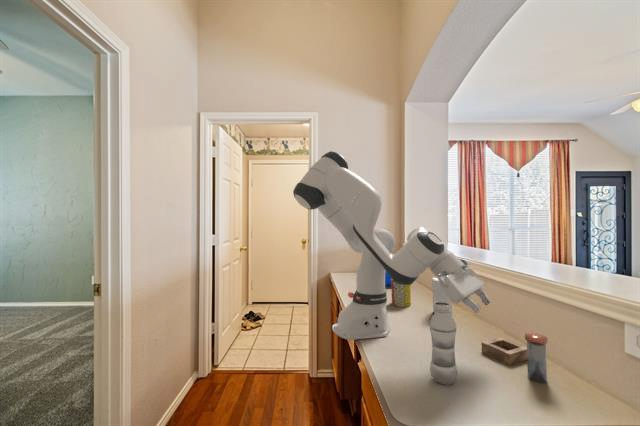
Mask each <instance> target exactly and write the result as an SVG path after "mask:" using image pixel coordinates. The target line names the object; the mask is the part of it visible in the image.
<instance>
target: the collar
mask: <svg viewBox="0 0 640 426" xmlns="http://www.w3.org/2000/svg"><path fill="white" fill-rule="evenodd" d="M481 352H482V353H484V354H486V355H488V356H491V357H493V358H494V359H497V360H498V361H501V362H503V363H505V364H507V365H509V366H510V365H513V364H517V363H521V362H523V361H527V346H525V345H522V344H519V343H518V342H514V341H512V340H509V339H507V338H504V337H502V336H501V337H497V338H492V339H488V340H484V341H481Z"/></svg>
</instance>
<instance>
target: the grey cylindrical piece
mask: <svg viewBox="0 0 640 426" xmlns="http://www.w3.org/2000/svg"><path fill="white" fill-rule="evenodd" d="M524 339H525V341H526V347H527V360H526V361H527V362H526V363H527V378H528V379H529V380H531V381H533V382H536V383H539V384H545V383H547V381H548V375H547V347H546V345H547V344H548V339H549V338H548V337H547V336H546V335H544V334H540V333H535V332H526V333H524Z"/></svg>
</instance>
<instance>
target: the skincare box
mask: <svg viewBox="0 0 640 426" xmlns="http://www.w3.org/2000/svg"><path fill="white" fill-rule="evenodd" d="M431 288H432V289H431V292H432V311H433V313H434V314H435V313H436V311H435V310H434V308H435V303H436V302H445V303H448V304H450V311H451V312H450V315H451V316H452V317H453V309H452V300H451V299H450V298H449V296H448V295H447V294H446V293H445V291H444V290H443V289H442V287H441V286H440V281H439V280H438V278H437V277H431Z"/></svg>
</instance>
